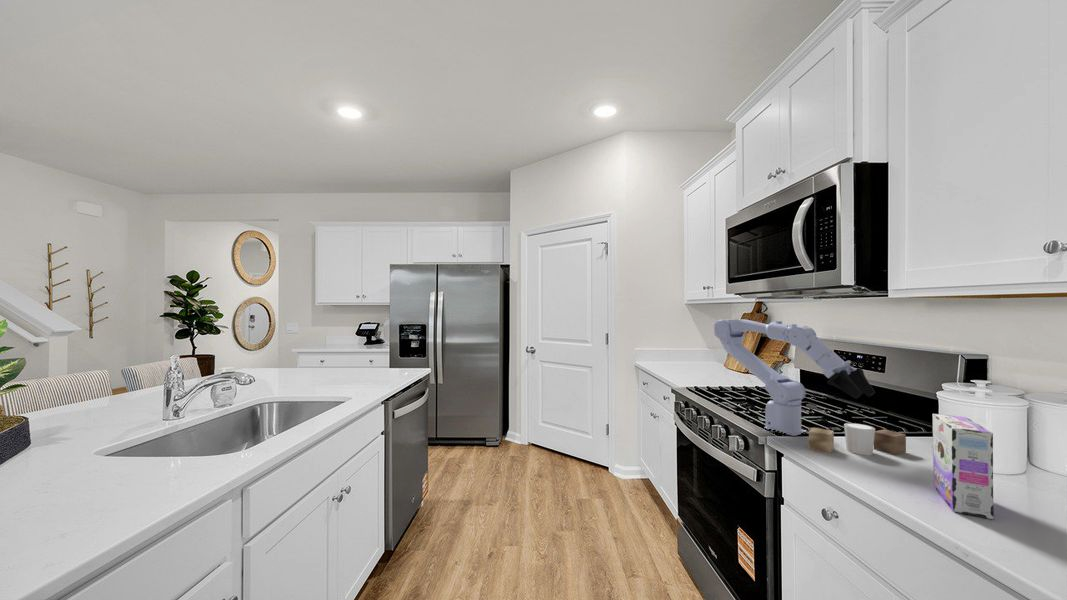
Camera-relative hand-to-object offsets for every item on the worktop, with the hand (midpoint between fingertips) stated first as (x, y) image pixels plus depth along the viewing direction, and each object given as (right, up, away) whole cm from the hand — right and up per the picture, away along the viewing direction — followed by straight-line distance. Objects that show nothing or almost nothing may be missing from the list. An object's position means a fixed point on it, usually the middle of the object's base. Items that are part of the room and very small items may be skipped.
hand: (865, 395), depth 114 cm
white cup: (-1, -16, 0) cm, 16 cm away
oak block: (-10, -16, +3) cm, 19 cm away
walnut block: (+7, -16, +1) cm, 17 cm away
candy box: (-4, -15, -29) cm, 33 cm away
